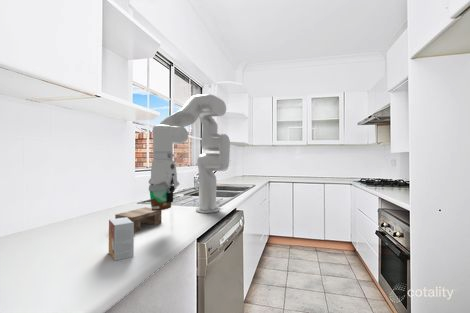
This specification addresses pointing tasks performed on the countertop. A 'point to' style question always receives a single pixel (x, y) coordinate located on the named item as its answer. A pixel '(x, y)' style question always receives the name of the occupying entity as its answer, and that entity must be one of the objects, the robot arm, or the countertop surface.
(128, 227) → the small box
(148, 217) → the bridge shelf
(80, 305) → the countertop surface
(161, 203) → the food container
